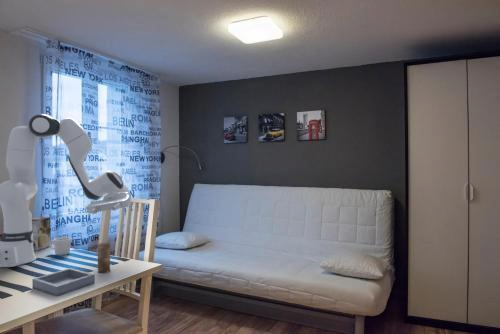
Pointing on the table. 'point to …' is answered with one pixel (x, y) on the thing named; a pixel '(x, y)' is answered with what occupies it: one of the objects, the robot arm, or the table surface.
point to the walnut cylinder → (103, 257)
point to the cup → (61, 245)
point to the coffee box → (41, 232)
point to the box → (63, 281)
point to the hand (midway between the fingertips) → (103, 210)
